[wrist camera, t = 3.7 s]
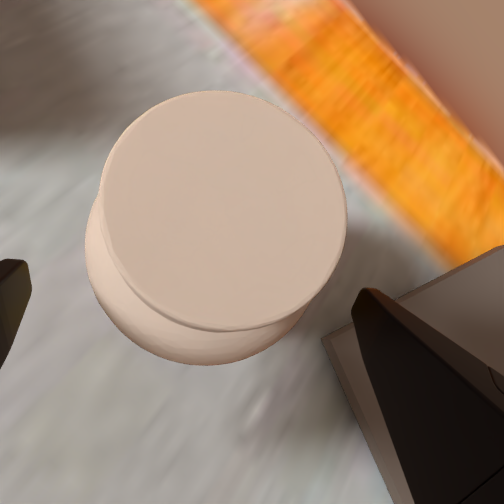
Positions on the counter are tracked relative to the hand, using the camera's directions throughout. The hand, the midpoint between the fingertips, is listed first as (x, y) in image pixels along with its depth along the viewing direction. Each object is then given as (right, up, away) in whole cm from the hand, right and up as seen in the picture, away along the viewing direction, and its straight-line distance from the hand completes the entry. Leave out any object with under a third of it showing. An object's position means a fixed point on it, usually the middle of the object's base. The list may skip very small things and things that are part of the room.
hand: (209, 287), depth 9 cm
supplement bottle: (-2, -1, +9) cm, 10 cm away
